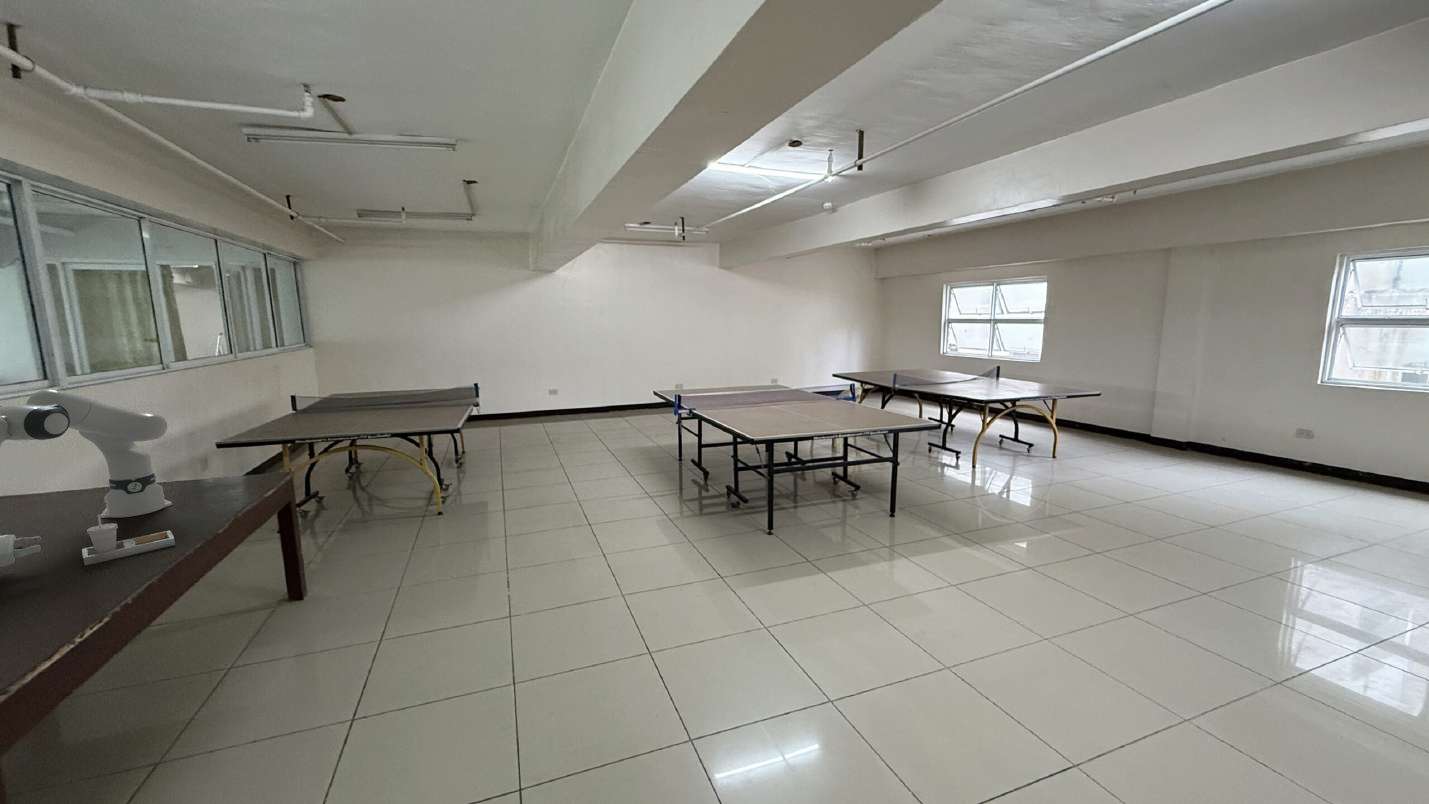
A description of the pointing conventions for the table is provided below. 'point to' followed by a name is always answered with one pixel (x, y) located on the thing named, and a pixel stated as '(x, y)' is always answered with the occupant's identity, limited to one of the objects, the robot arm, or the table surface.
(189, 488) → the table surface
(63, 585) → the table surface
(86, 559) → the cup holder
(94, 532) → the smoothie
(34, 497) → the table surface
